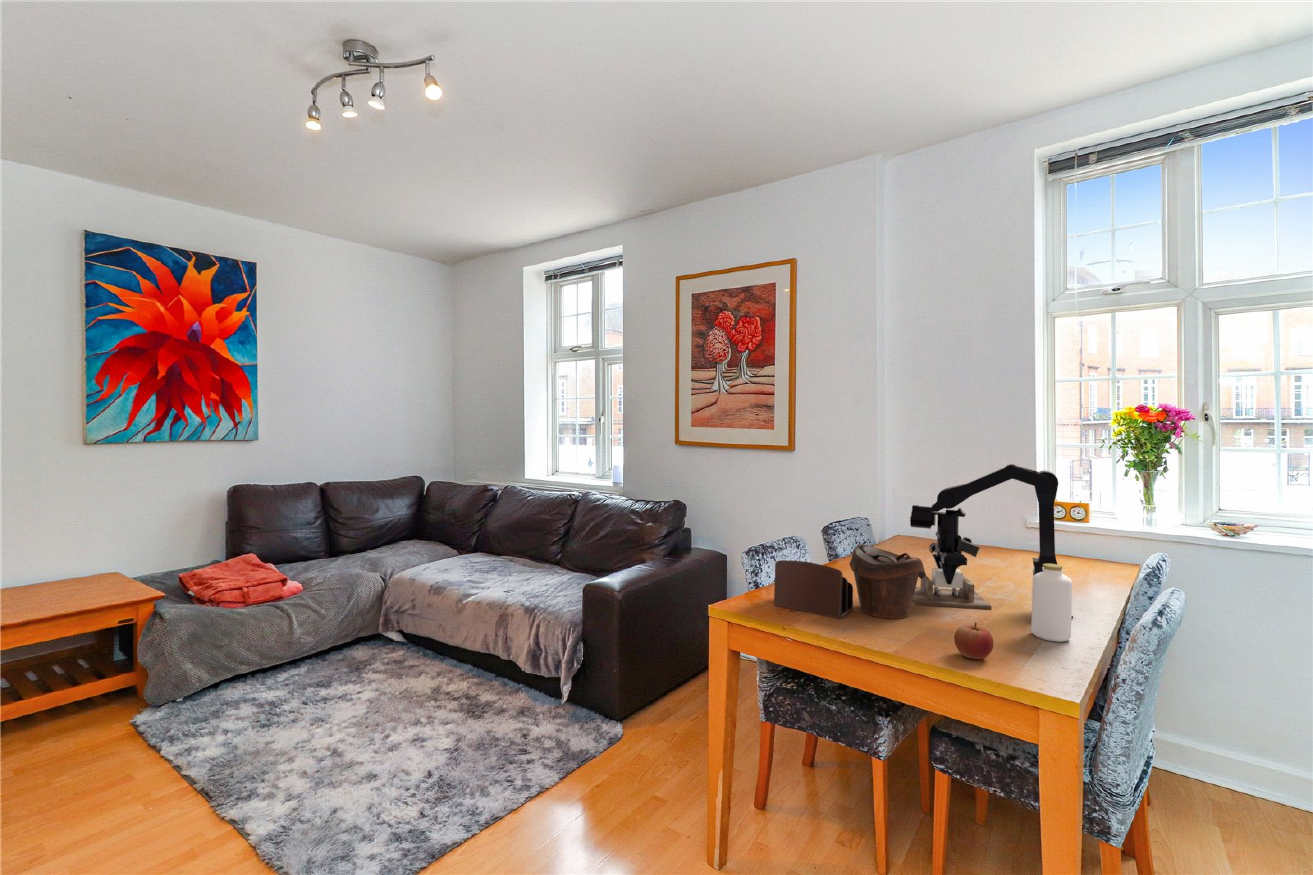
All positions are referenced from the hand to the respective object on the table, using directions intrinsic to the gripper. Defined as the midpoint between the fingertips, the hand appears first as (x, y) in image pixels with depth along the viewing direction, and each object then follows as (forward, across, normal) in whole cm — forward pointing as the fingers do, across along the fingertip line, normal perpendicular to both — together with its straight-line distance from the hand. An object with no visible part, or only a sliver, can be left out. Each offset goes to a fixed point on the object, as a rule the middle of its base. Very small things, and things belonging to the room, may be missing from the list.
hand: (946, 582), depth 184 cm
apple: (+6, -47, +6) cm, 48 cm away
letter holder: (+6, -18, +40) cm, 44 cm away
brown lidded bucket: (+5, -17, +20) cm, 27 cm away
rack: (+5, 0, 0) cm, 5 cm away
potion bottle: (+5, -29, -17) cm, 34 cm away
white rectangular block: (+1, 0, 0) cm, 1 cm away
